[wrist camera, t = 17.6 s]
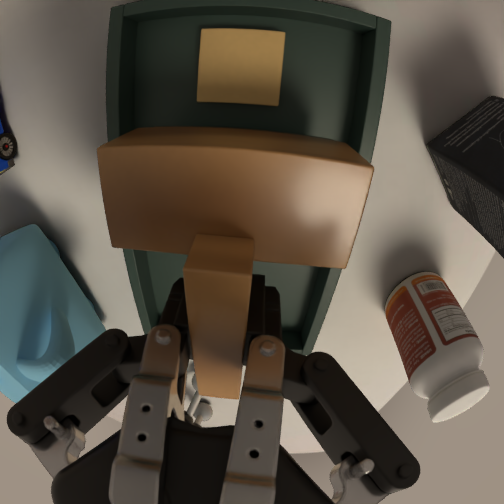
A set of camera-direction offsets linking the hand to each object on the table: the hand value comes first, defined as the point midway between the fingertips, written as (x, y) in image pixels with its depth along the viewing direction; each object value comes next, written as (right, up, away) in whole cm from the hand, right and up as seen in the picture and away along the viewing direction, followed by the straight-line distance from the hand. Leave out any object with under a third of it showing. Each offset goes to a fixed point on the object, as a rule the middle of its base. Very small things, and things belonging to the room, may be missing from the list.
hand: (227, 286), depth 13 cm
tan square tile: (+1, +11, -1) cm, 11 cm away
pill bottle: (+15, -2, +8) cm, 17 cm away
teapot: (-19, -3, +10) cm, 21 cm away
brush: (0, +3, +2) cm, 3 cm away
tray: (0, +5, +4) cm, 6 cm away
